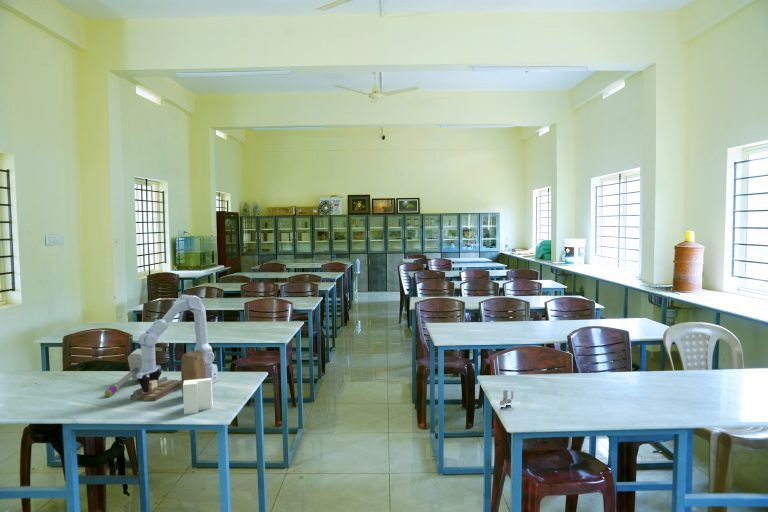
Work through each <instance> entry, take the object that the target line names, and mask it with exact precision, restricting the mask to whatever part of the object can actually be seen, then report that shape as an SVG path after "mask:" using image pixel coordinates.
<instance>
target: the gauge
mask: <svg viewBox="0 0 768 512" xmlns="http://www.w3.org/2000/svg"><path fill="white" fill-rule="evenodd" d="M158 390H161V391H163V390H164V388H158V385H157V380H150V381H149V390H148V392H143V390H142V393H146V394H153V393H155V392H157V391H158Z"/></svg>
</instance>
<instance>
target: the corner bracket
mask: <svg viewBox="0 0 768 512" xmlns="http://www.w3.org/2000/svg"><path fill="white" fill-rule="evenodd" d="M182 397H183V414H184V415H189V414H198V413H199V411H201V410H202V409H203V410H212V409H213V404H214V403H213V402H214V401H213V383H212V380H211V378H205V379H195V380H184V383H183V395H182ZM211 408H212V409H211Z"/></svg>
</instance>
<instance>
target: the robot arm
mask: <svg viewBox="0 0 768 512" xmlns="http://www.w3.org/2000/svg"><path fill="white" fill-rule="evenodd" d="M185 311H190V312H192V314H193V319H194V332H195V333H194V334H195V343H196V344H195V346H194V348H193V351H201V352H202V356H203V359H204V363H205V371H206V378H211V380H212V384H214V383H216V382H217V381H219V380H220V379H219V374H218V373H219V372H218V371H219V370H218V366H217V365H218V364H215V363H213V362H214V360H215V353H214V352H213V347H212V346H211V345H210V344H209V336H208V325H207V322H208V321H207V313H206V307H205V305H204V303H203V302H202V298H200V297H198V296H197V295H190V294H181V295H180V296H179V297H178V298H177V299H175V301H174V303H173V305H172V306H171V308H169V310H168V311H167V312H166V313H165V314H164V316H162V318H161V319H156V320H154V321H153V323H152V325H151V326H150V327H149V328H148V329H146V330H145V332H143V333H142V334H140V335H139V338H138V339H137V343H138V344H139V345H140V349H141V358H142V369H141V370H140V372H139V373H138V374H137V380H138V381H137V382H138V383H139V385H140V388H142V390H143V392H148V390H149V381H150V380H157V384H158V380H159V379H160V378H161V375H162V371H161V369H162V366H161V365H157V362H156V345H157V343H158V341H159V338H160V337H161V335H163V334H164V332H166V330H167V329H168V326H169V325H168V324H169V323H170V322H171V321H172V320H173V319H174V318H175V317H177V315H179V313H180V312H185ZM148 374H149V377H147V376H146V375H148Z"/></svg>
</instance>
